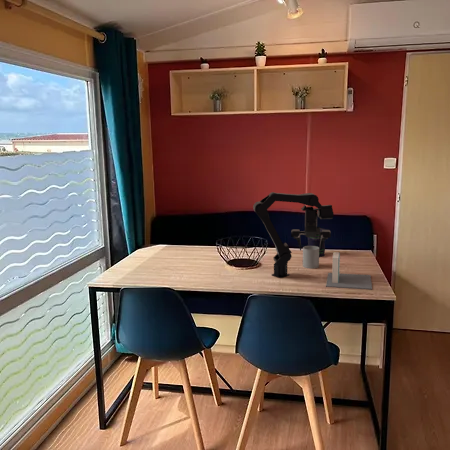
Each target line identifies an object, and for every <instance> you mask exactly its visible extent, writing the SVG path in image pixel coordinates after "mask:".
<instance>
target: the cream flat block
mask: <svg viewBox="0 0 450 450" xmlns="http://www.w3.org/2000/svg"><path fill="white" fill-rule="evenodd" d="M332 253H333V254H332V265H331V266H332V267H331V268H332V270H331V271H332V272H331V273H332V283H339V273H340V272H341V271H340V267H341V266H340V263H341V261H340V259H341V253H340V252H338V251H336V252H335V251H334V252H332Z"/></svg>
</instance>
